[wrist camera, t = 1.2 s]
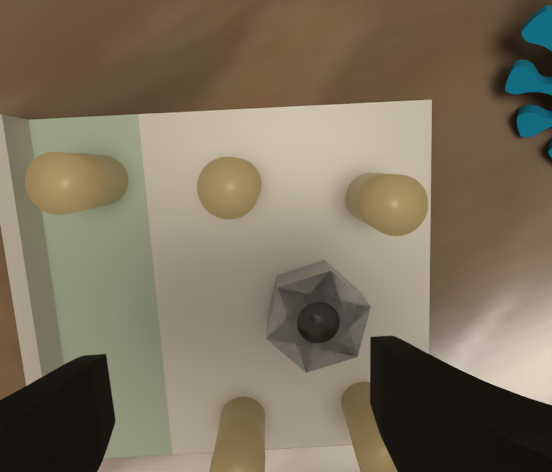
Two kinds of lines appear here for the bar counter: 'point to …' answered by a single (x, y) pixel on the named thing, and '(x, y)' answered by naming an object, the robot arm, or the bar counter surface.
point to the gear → (533, 76)
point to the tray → (216, 264)
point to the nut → (316, 316)
